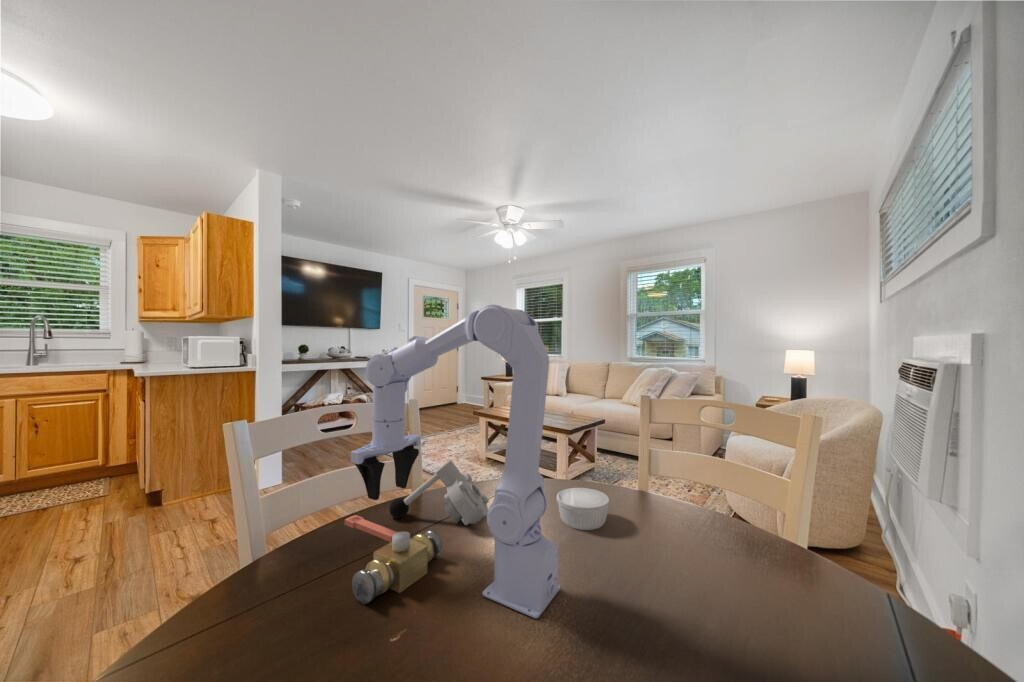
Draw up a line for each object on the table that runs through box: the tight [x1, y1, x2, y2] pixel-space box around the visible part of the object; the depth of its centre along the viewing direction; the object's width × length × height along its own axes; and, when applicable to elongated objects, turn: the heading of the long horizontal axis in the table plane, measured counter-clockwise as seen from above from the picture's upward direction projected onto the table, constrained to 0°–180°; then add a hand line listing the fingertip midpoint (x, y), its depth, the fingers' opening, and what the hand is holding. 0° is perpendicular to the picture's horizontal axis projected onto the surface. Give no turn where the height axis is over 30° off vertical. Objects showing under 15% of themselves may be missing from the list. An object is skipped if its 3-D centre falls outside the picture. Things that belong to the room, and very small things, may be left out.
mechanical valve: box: [388, 459, 490, 526], centre depth 83 cm, size 10×18×15 cm
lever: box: [344, 514, 411, 551], centre depth 65 cm, size 15×3×2 cm, turn 59°
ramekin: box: [556, 487, 610, 531], centre depth 83 cm, size 11×11×5 cm
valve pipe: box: [351, 529, 443, 605], centre depth 62 cm, size 15×6×5 cm, turn 149°
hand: (387, 492), depth 70 cm, fingers open, 6 cm apart
